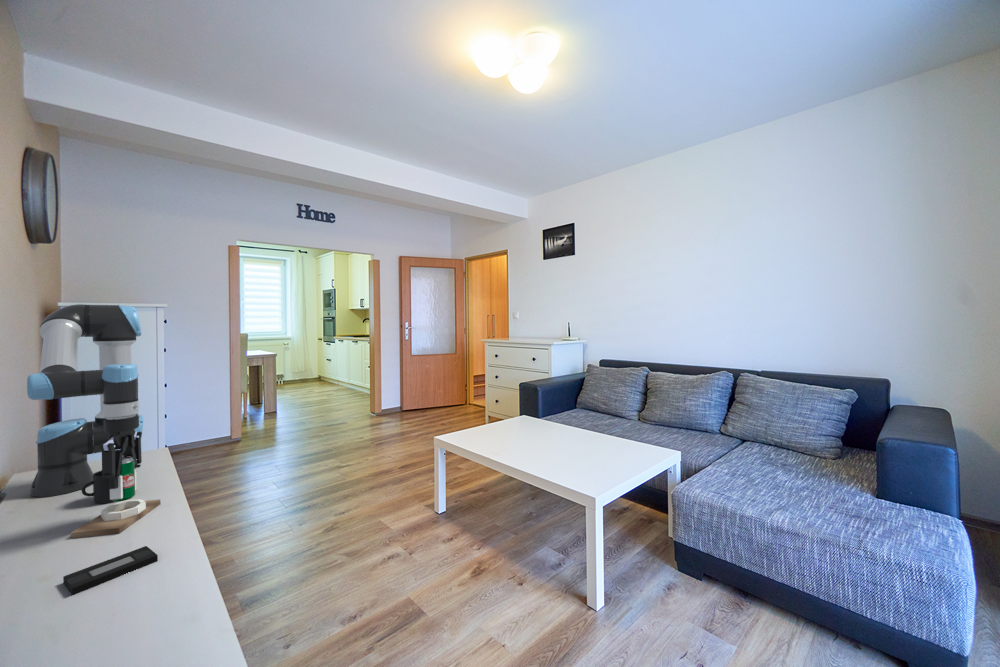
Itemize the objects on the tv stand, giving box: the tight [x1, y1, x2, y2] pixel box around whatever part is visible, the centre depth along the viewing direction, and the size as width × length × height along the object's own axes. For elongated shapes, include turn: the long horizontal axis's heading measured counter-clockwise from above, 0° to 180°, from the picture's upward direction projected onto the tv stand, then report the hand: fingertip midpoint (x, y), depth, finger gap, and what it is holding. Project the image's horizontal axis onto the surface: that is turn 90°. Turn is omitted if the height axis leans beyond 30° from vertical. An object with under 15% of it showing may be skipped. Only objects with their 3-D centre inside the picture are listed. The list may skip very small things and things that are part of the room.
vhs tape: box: [62, 545, 159, 596], centre depth 91 cm, size 8×14×2 cm, turn 148°
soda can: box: [112, 456, 136, 503], centre depth 116 cm, size 5×5×12 cm
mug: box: [81, 469, 115, 505], centre depth 129 cm, size 9×12×9 cm
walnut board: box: [70, 499, 161, 539], centre depth 116 cm, size 18×11×2 cm, turn 13°
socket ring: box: [100, 498, 146, 521], centre depth 117 cm, size 9×9×2 cm
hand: (123, 494), depth 117 cm, fingers closed on soda can, 5 cm apart
